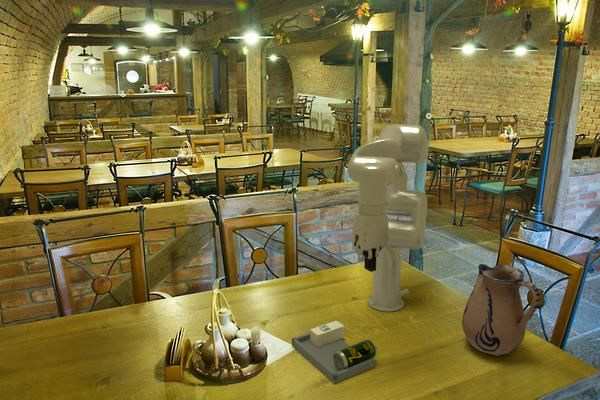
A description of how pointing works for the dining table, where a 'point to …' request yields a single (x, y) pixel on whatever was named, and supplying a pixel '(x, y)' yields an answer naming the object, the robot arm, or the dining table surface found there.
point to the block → (326, 333)
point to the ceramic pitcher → (498, 310)
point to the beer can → (354, 354)
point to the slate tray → (328, 358)
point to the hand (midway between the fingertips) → (370, 269)
